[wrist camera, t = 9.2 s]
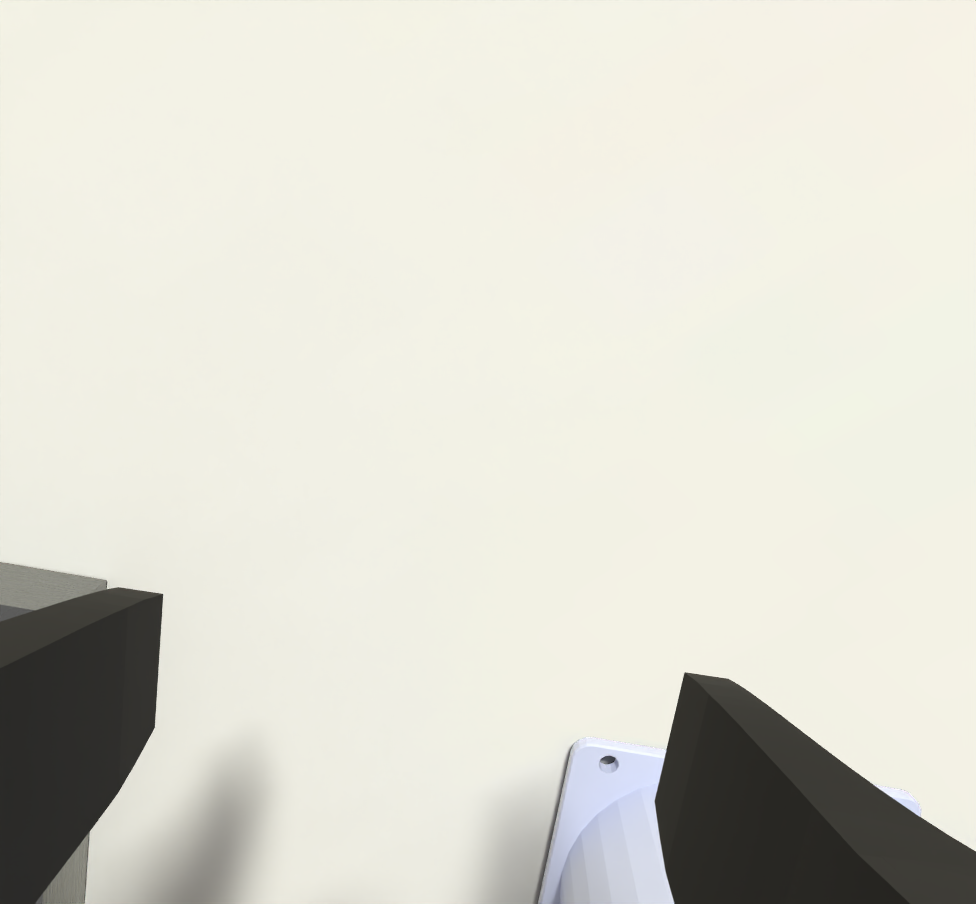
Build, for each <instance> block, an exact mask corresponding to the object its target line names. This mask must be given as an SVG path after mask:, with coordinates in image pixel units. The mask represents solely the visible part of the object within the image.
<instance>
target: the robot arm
mask: <svg viewBox="0 0 976 904" xmlns="http://www.w3.org/2000/svg"><path fill="white" fill-rule="evenodd" d="M162 603H163V594H159V593H153V592H146V591H139V590H133V589H126V588H119V587H118V588H112V589H107V590H102V591H98V592H94V593H90V594H87V595H83V596H80V597H76V598H73V599H70V600H66V601H63V602H60V603H57V604H54V605H50V606H47V607H44V608H41V609H38V610H35V611H32V612H29V613H26V614H22V615H19V616H16V617H13V618H10V619H7V620H4V621H1V622H0V904H35V903H36V902H37V900H38V899H39V898H40V896H41V895H42V894H43V892H44V891H45V890H46V889H47V887H48V886H49V885H50V883H51V882H52V881H53V879H54V878H55V877H56V875H57V874H58V873H59V871H60V870H61V869H62V867H63V866H64V865H65V863H66V862H67V861H68V860H69V858H70V857H71V856H72V854H73V853H74V852H75V850H76V849H77V848H78V846H79V845H80V844H81V842H82V841H83V840H84V838H85V837H86V836H87V834H88V833H89V832H90V830H91V829H92V828H93V826H94V825H95V824H96V822H97V821H98V820H99V818H100V817H101V815H102V814H103V813H104V811H105V810H106V809H107V807H108V806H109V805H110V803H111V802H112V800H113V799H114V798H115V796H116V795H117V794H118V792H119V790H120V789H121V787H122V785H123V784H124V782H125V780H126V778H127V777H128V775H129V773H130V772H131V770H132V768H133V766H134V765H135V763H136V761H137V759H138V757H139V756H140V754H141V752H142V750H143V748H144V746H145V745H146V743H147V741H148V739H149V737H150V735H151V734H152V732H153V730H154V728H155V714H156V698H157V682H158V666H159V651H160V635H161V619H162ZM605 756H613V757H615V758H616V759H615V761H614V762H613V763H611V764H603V763H601V762H600V760H601V758H603V757H605ZM538 904H976V851H974V850H972V849H971V848H969V847H967V846H966V845H964V844H962V843H961V842H959V841H957V840H956V839H954V838H952V837H951V836H949V835H947V834H946V833H944V832H943V831H941V830H940V829H938V828H936V827H935V826H933V825H932V824H930V823H929V822H927V821H926V820H924V819H922V818H921V807H920V804H919V803H918V802H917V800H916V799H915V798H914V797H913V796H912V795H911V794H910V793H909V792H907V791H904V790H900V789H895V788H889V787H883V786H877V785H873V784H872V783H870V782H869V781H867V780H866V779H865V778H863V777H862V776H860V775H859V774H858V773H856V772H855V771H854V770H852V769H851V768H849V767H848V766H847V765H845V764H844V763H843V762H841V761H840V760H839V759H837V758H836V757H835V756H833V755H832V754H831V753H829V752H828V751H827V750H825V749H824V748H823V747H821V746H820V745H819V744H818V743H816V742H815V741H814V740H812V739H811V738H810V737H808V736H807V735H806V734H804V733H803V732H802V731H801V730H799V729H798V728H797V727H795V726H794V725H793V724H791V723H790V722H789V721H788V720H786V719H785V718H784V717H782V716H781V715H780V714H778V713H777V712H776V711H774V710H773V709H772V708H771V707H769V706H768V705H767V704H765V703H764V702H762V701H761V700H760V699H758V698H757V697H756V696H754V695H753V694H751V693H750V692H749V691H747V690H746V689H744V688H743V687H741V686H740V685H738V684H736V683H735V682H733V681H731V680H729V679H725V678H719V677H712V676H705V675H699V674H692V673H684V677H683V682H682V686H681V690H680V694H679V699H678V703H677V707H676V711H675V716H674V720H673V724H672V729H671V733H670V737H669V741H668V746H667V750H665V749H659V748H653V747H647V746H641V745H635V744H629V743H624V742H618V741H612V740H606V739H600V738H594V737H585V738H582V739H580V740H578V741H577V742H576V743H575V744H574V745H573V747H572V749H571V752H570V757H569V761H568V766H567V771H566V775H565V780H564V784H563V789H562V794H561V798H560V803H559V808H558V812H557V817H556V822H555V826H554V831H553V836H552V840H551V845H550V850H549V854H548V859H547V863H546V868H545V873H544V877H543V882H542V887H541V891H540V896H539V901H538Z"/></svg>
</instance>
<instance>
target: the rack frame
mask: <svg viewBox="0 0 976 904" xmlns="http://www.w3.org/2000/svg"><path fill="white" fill-rule="evenodd" d="M106 581H107V580H102V579H96V578H90V577H84V576H78V575H72V574H67V573H61V572H55V571H49V570H43V569H37V568H31V567H25V566H20V565H14V564H8V563H2V562H0V622H1V621H4V620H7V619H10V618H13V617H16V616H19V615H22V614H26V613H29V612H32V611H35V610H38V609H41V608H44V607H47V606H50V605H54V604H57V603H60V602H63V601H66V600H70V599H73V598H76V597H80V596H83V595H87V594H90V593H94V592H98V591H102V590H106ZM88 838H89V833H88V834H87V836H86V837H85V838H84V840H83V841H82V842H81V844H80V845H79V846H78V848H77V849H76V850H75V852H74V853H73V854H72V856H71V857H70V858H69V860H68V861H67V862H66V863H65V865H64V866H63V867H62V869H61V870H60V871H59V873H58V874H57V875H56V877H55V878H54V879H53V881H52V882H51V883H50V885H49V886H48V887H47V889H46V890H45V891H44V892H43V894H42V895H41V896H40V898H39V899H38V900H37V902H36V903H35V904H84V896H85V881H86V867H87V853H88Z"/></svg>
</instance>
